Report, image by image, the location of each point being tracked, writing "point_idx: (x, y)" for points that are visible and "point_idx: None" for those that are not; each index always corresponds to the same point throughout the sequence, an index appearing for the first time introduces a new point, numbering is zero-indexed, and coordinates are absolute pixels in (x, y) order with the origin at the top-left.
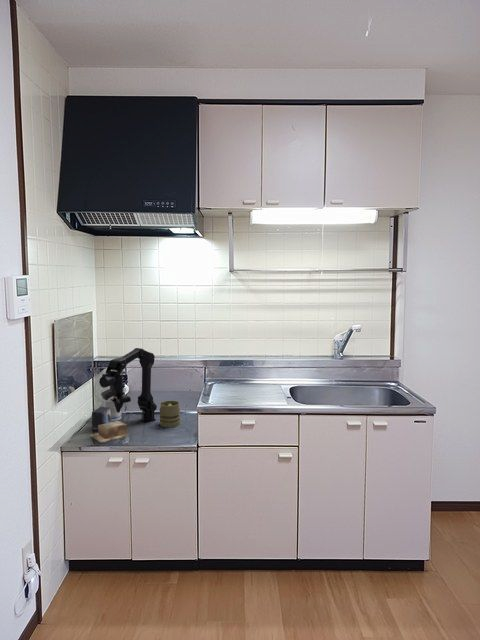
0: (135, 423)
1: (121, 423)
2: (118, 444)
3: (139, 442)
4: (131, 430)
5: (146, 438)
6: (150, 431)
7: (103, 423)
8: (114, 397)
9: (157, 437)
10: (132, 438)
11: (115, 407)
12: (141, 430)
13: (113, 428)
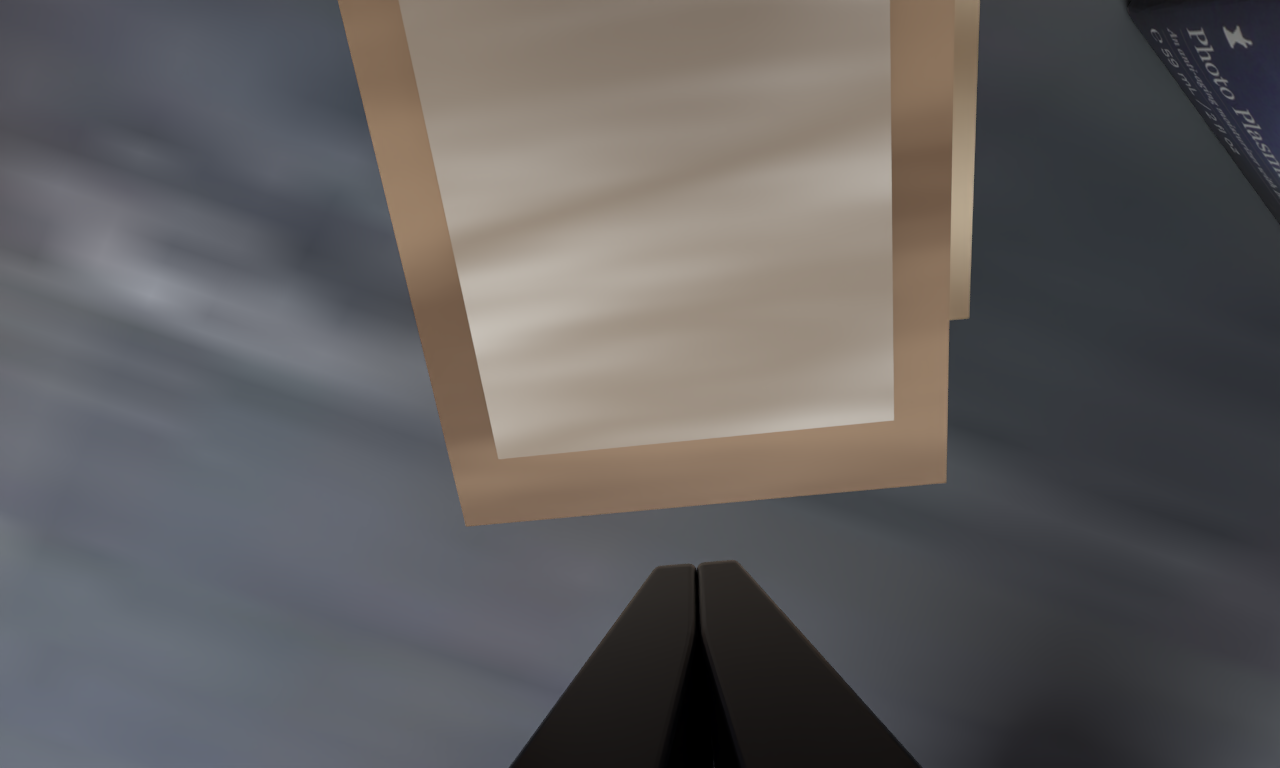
0: (1055, 731)
1: (588, 438)
2: (20, 64)
3: (13, 450)
4: (727, 555)
5: (177, 606)
6: (489, 762)
7: (1277, 61)
8: None
9: (159, 741)
10: (274, 422)
11: (850, 710)
12: None
13: (373, 113)
